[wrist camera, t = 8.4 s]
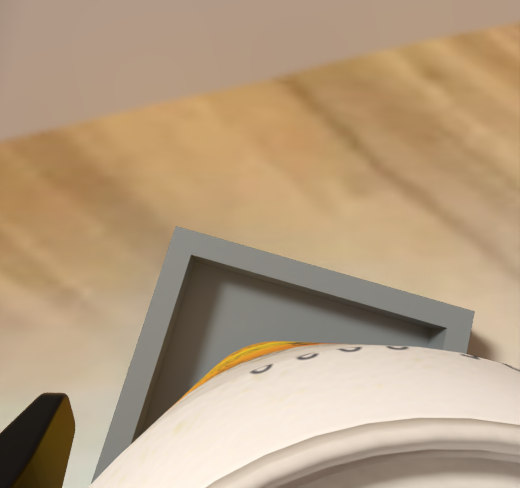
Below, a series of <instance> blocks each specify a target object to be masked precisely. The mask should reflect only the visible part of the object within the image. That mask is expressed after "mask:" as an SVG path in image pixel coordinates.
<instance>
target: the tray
mask: <svg viewBox="0 0 520 488" xmlns="http://www.w3.org/2000/svg"><path fill="white" fill-rule="evenodd" d="M474 312H475V311H471V310H468V309H464V308H461V307H457V306H454V305H450V304H447V303H443V302H440V301H436V300H433V299H429V298H426V297H422V296H419V295H415V294H412V293H408V292H405V291H401V290H398V289H394V288H391V287H387V286H384V285H380V284H377V283H373V282H370V281H366V280H363V279H359V278H356V277H352V276H349V275H345V274H342V273H338V272H335V271H331V270H328V269H324V268H321V267H317V266H314V265H310V264H307V263H303V262H300V261H296V260H293V259H289V258H286V257H282V256H279V255H275V254H272V253H268V252H265V251H261V250H258V249H254V248H251V247H247V246H244V245H240V244H237V243H233V242H230V241H226V240H223V239H219V238H216V237H212V236H209V235H205V234H202V233H198V232H195V231H191V230H188V229H184V228H181V227H177V226H176V227H175V230H174V233H173V236H172V239H171V242H170V245H169V248H168V251H167V254H166V257H165V260H164V263H163V266H162V269H161V272H160V276H159V279H158V282H157V285H156V288H155V291H154V294H153V297H152V300H151V303H150V306H149V309H148V312H147V315H146V318H145V321H144V324H143V327H142V330H141V333H140V336H139V339H138V342H137V346H136V349H135V352H134V355H133V358H132V361H131V364H130V367H129V370H128V373H127V376H126V379H125V382H124V385H123V388H122V391H121V394H120V397H119V400H118V403H117V406H116V409H115V412H114V416H113V419H112V422H111V425H110V428H109V431H108V434H107V437H106V440H105V443H104V446H103V449H102V452H101V455H100V458H99V461H98V464H97V467H96V470H95V473H94V476H93V479H92V482H91V484H92V483H93V482H94V481H95V480H96V479H97V478H98V477H99V476H100V475H101V473H102V472H103V471H104V470H105V469H106V468H107V467H108V466H109V465H110V464H111V463H112V462H113V461H114V460H115V459H116V458H117V457H118V456H119V455H120V454H121V453H122V452H123V451H124V450H125V449H127V448H128V447H129V446H130V445H131V444H132V443H133V442H134V441H135V440H136V439H137V438H138V437H139V436H141V435H142V434H143V433H144V432H145V431H146V430H147V429H148V428H149V427H150V426H151V425H152V424H153V423H155V422H156V421H157V420H158V419H159V418H160V417H161V416H162V415H163V414H164V413H165V412H166V411H168V410H169V409H170V408H171V407H172V406H173V405H174V404H175V403H176V402H177V401H178V400H179V399H180V398H182V397H183V396H184V395H185V394H186V393H187V392H188V391H189V390H190V389H191V388H192V387H193V386H194V385H196V384H197V383H198V382H199V381H200V380H201V379H202V378H203V377H204V376H205V375H206V374H207V373H208V372H210V371H211V370H212V369H213V368H214V367H215V366H216V365H217V364H218V363H220V362H221V361H222V360H223V359H224V358H226V357H227V356H229V355H231V354H232V353H234V352H236V351H238V350H240V349H242V348H244V347H247V346H250V345H253V344H257V343H261V342H269V341H291V342H315V343H339V344H363V345H387V346H410V347H422V348H430V349H437V350H445V351H452V352H459V353H464V354H467V349H468V344H469V338H470V333H471V328H472V323H473V318H474Z"/></svg>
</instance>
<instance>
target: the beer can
mask: <svg viewBox="0 0 520 488" xmlns="http://www.w3.org/2000/svg"><path fill="white" fill-rule="evenodd" d="M88 488H520V369H517V368H515V367H512V366H509V365H507V364H503V363H499V362H495V361H492V360H488V359H484V358H480V357H476V356H472V355H468V354H464V353H459V352H452V351H445V350H437V349H430V348H422V347H410V346H387V345H363V344H339V343H315V342H291V341H269V342H261V343H257V344H253V345H250V346H247V347H244V348H242V349H240V350H238V351H236V352H234V353H232V354H231V355H229V356H227V357H226V358H224V359H223V360H222V361H221V362H220V363H218V364H217V365H216V366H215V367H214V368H213V369H212V370H211V371H210V372H208V373H207V374H206V375H205V376H204V377H203V378H202V379H201V380H200V381H199V382H198V383H197V384H196V385H194V386H193V387H192V388H191V389H190V390H189V391H188V392H187V393H186V394H185V395H184V396H183V397H182V398H180V399H179V400H178V401H177V402H176V403H175V404H174V405H173V406H172V407H171V408H170V409H169V410H168V411H166V412H165V413H164V414H163V415H162V416H161V417H160V418H159V419H158V420H157V421H156V422H155V423H153V424H152V425H151V426H150V427H149V428H148V429H147V430H146V431H145V432H144V433H143V434H142V435H141V436H139V437H138V438H137V439H136V440H135V441H134V442H133V443H132V444H131V445H130V446H129V447H128V448H127V449H125V450H124V451H123V452H122V453H121V454H120V455H119V456H118V457H117V458H116V459H115V460H114V461H113V462H112V463H111V464H110V465H109V466H108V467H107V468H106V469H105V470H104V471H103V472H102V473H101V475H100V476H99V477H98V478H97V479H96V480H95V481H94V482H93V483H92V484H91V485H90V486H89V487H88Z"/></svg>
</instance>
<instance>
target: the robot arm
mask: <svg viewBox="0 0 520 488" xmlns="http://www.w3.org/2000/svg"><path fill="white" fill-rule="evenodd" d="M74 433H75V420H74V416H73V412H72V409H71V405H70V401H69V398H68V396H67V395H66V394H65V393H43V394H41V395H40V396H39V397H37V398H36V399H35V400H34V401H33V402H32V403H31V404H30V405H29V406H28V407H27V408H26V409H25V410H24V411H23V412H22V413H21V414H20V415H19V416H18V417H17V418H16V419H15V420H14V421H12V422H11V423H10V424H9V425H8V426H7V427H6V428H5V429H4V430H3V431H2V432H1V433H0V488H62V485H63V481H64V477H65V472H66V468H67V464H68V459H69V455H70V451H71V447H72V442H73V438H74Z"/></svg>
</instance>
